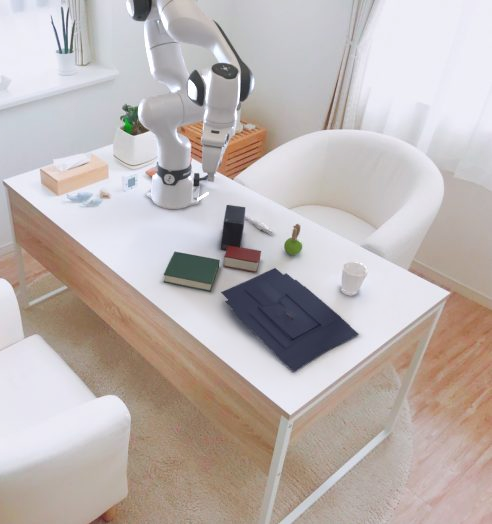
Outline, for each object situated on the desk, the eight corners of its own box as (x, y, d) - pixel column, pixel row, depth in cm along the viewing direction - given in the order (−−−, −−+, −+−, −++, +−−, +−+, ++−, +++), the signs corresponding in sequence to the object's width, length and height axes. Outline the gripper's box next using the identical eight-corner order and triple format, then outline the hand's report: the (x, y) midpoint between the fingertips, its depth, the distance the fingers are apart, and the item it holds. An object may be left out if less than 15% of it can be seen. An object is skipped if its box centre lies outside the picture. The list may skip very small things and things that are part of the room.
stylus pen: (275, 234, 188) (276, 229, 187) (269, 237, 187) (270, 232, 186) (243, 214, 198) (243, 210, 197) (237, 217, 197) (238, 212, 195)
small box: (240, 252, 180) (244, 223, 174) (219, 249, 181) (222, 221, 175) (242, 234, 188) (246, 206, 182) (222, 231, 189) (225, 204, 183)
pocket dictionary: (227, 255, 178) (228, 245, 176) (259, 261, 176) (261, 250, 174) (223, 266, 174) (224, 255, 171) (256, 272, 171) (258, 262, 169)
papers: (277, 272, 169) (280, 263, 167) (356, 340, 152) (360, 331, 149) (213, 301, 158) (215, 292, 156) (290, 379, 141) (293, 369, 138)
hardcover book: (174, 259, 177) (174, 251, 175) (219, 267, 173) (219, 259, 171) (163, 282, 167) (163, 274, 166) (210, 291, 164) (211, 283, 162)
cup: (331, 292, 164) (337, 269, 159) (346, 275, 171) (352, 253, 166) (355, 302, 161) (362, 279, 156) (369, 284, 167) (376, 262, 162)
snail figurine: (280, 257, 178) (286, 224, 171) (285, 246, 182) (291, 214, 175) (297, 261, 176) (304, 228, 169) (302, 251, 181) (309, 218, 173)
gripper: (215, 110, 164) (211, 155, 172) (199, 141, 148) (195, 187, 157) (237, 113, 162) (232, 158, 171) (223, 144, 147) (218, 191, 155)
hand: (214, 172), depth 164 cm, fingers open, 8 cm apart
